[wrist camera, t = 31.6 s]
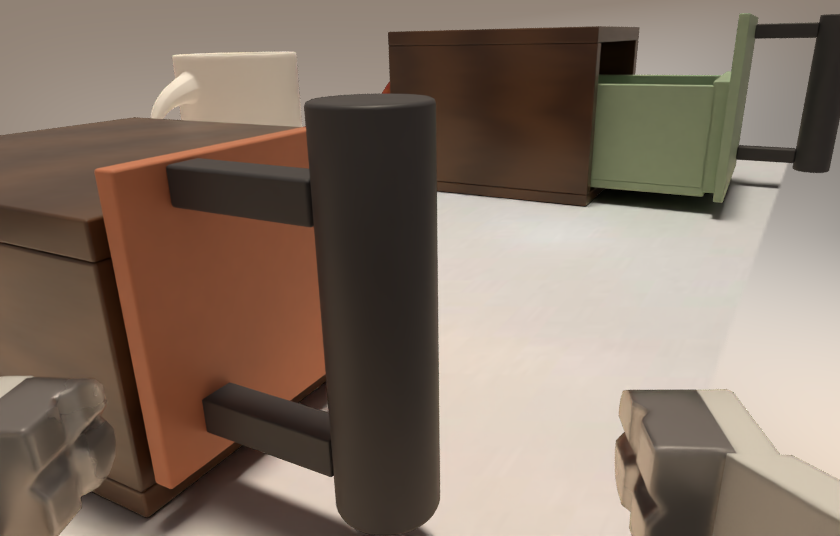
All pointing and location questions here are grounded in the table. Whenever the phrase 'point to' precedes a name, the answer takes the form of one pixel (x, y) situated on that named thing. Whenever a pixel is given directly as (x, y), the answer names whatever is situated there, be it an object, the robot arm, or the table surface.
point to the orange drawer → (291, 301)
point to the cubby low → (86, 275)
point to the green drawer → (709, 119)
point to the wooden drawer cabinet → (513, 104)
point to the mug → (234, 88)
